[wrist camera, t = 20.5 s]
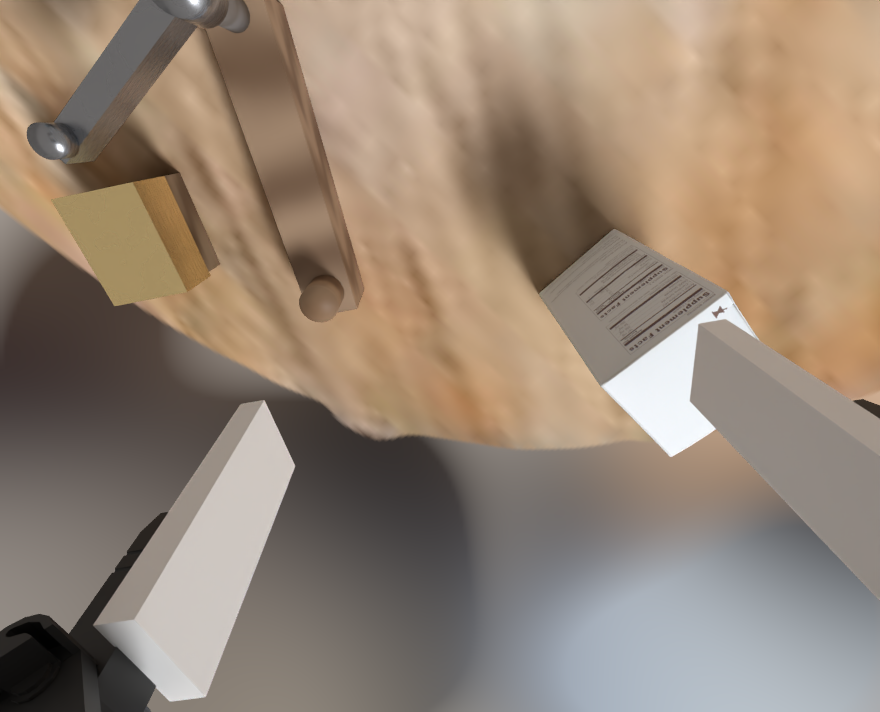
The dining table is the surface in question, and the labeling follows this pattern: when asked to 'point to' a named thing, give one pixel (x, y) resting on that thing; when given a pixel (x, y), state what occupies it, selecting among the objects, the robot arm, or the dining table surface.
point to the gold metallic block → (134, 240)
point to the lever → (122, 77)
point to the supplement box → (641, 331)
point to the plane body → (288, 153)
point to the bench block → (192, 220)
